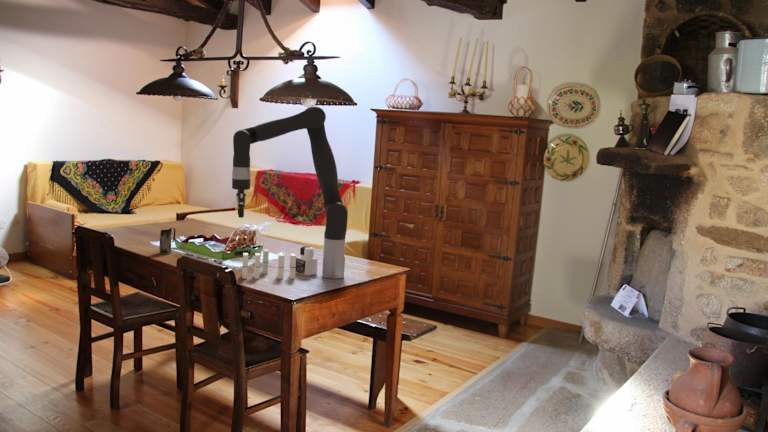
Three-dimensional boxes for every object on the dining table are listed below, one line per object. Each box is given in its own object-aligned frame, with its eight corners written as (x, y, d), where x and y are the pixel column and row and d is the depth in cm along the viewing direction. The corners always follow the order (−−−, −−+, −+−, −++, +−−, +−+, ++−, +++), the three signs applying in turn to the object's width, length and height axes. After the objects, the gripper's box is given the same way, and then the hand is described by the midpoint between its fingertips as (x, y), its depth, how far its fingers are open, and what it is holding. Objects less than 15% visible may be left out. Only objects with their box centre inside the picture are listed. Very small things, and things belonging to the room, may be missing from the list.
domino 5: (293, 276, 280) (294, 253, 279) (295, 278, 275) (296, 256, 274) (289, 276, 279) (290, 253, 278) (290, 278, 275) (291, 255, 273)
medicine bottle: (294, 272, 287) (296, 246, 285) (307, 270, 292) (308, 245, 290) (304, 275, 282) (305, 249, 280) (317, 274, 287) (318, 247, 285)
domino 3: (266, 271, 286) (267, 249, 285) (267, 273, 281) (268, 251, 280) (262, 271, 285) (263, 249, 284) (262, 273, 281) (263, 251, 279)
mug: (164, 254, 305) (164, 229, 303) (156, 253, 308) (157, 228, 306) (177, 252, 312) (178, 228, 310) (170, 251, 314) (171, 226, 313)
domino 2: (258, 275, 276) (259, 253, 275) (259, 278, 271) (260, 255, 270) (254, 275, 276) (255, 252, 274) (254, 278, 271) (255, 255, 270)
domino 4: (282, 276, 279) (283, 253, 277) (283, 278, 274) (284, 255, 273) (277, 275, 278) (278, 253, 277) (278, 278, 273) (279, 255, 272)
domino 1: (247, 275, 275) (247, 252, 274) (247, 278, 270) (248, 255, 269) (242, 275, 274) (243, 252, 273) (242, 278, 270) (243, 255, 268)
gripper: (251, 179, 263) (250, 218, 266) (249, 176, 277) (248, 213, 279) (232, 179, 262) (231, 218, 264) (231, 176, 275) (231, 213, 277)
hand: (240, 216), depth 272 cm, fingers open, 8 cm apart
